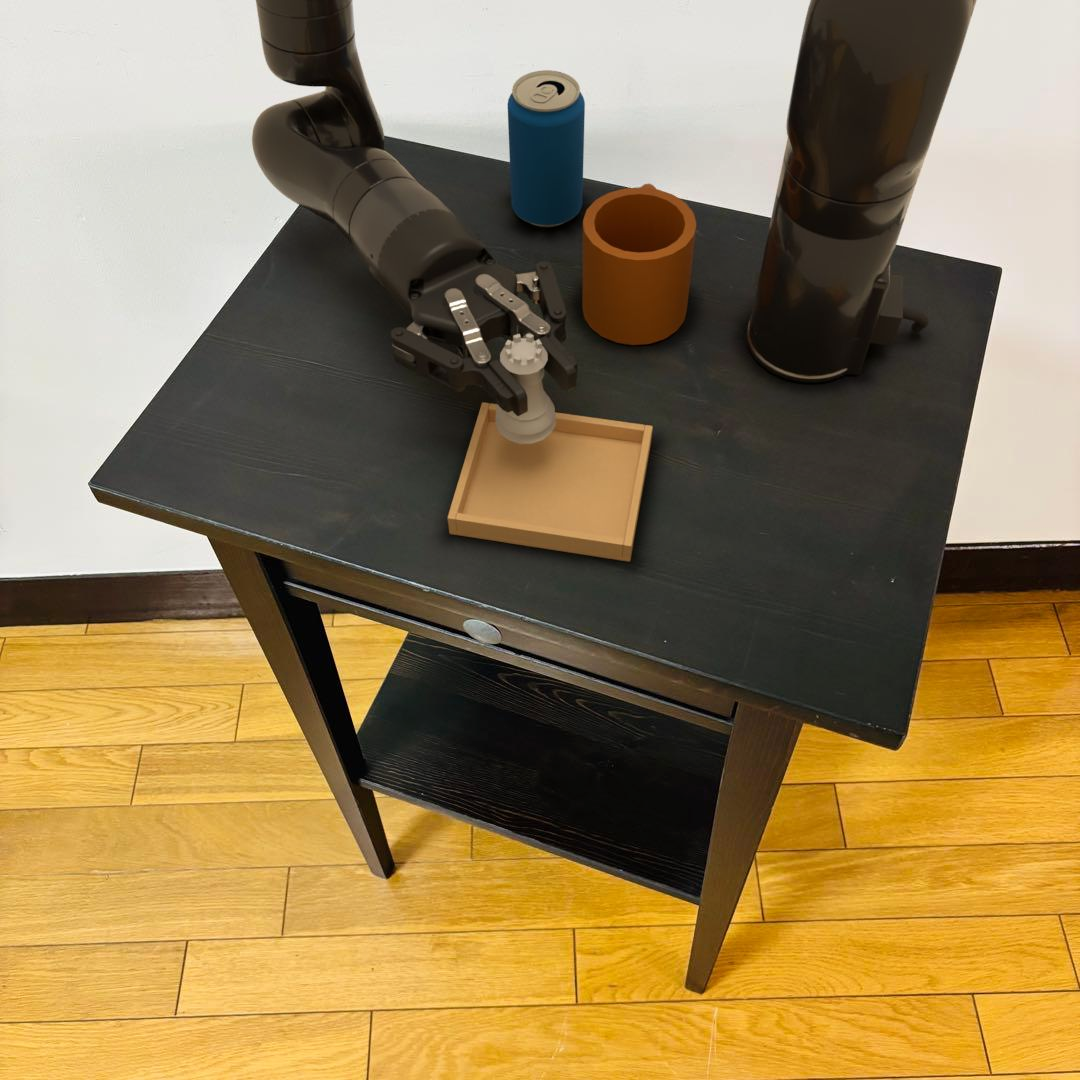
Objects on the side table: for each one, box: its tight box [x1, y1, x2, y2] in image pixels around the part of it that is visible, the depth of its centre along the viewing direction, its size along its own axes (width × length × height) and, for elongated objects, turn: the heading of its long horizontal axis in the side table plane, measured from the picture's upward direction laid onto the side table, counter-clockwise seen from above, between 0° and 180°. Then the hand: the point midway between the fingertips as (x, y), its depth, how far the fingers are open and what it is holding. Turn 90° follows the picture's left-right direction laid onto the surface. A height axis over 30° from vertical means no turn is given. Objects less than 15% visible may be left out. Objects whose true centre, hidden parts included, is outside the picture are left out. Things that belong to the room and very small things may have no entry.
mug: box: [581, 183, 697, 346], centre depth 87 cm, size 9×12×9 cm
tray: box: [446, 401, 654, 563], centre depth 78 cm, size 13×11×2 cm
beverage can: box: [507, 69, 586, 228], centre depth 93 cm, size 6×6×12 cm
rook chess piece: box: [496, 334, 556, 444], centre depth 75 cm, size 4×4×8 cm
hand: (547, 392), depth 72 cm, fingers closed on rook chess piece, 3 cm apart
